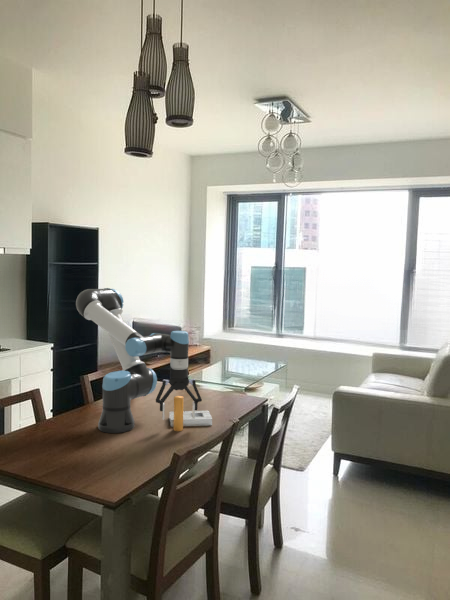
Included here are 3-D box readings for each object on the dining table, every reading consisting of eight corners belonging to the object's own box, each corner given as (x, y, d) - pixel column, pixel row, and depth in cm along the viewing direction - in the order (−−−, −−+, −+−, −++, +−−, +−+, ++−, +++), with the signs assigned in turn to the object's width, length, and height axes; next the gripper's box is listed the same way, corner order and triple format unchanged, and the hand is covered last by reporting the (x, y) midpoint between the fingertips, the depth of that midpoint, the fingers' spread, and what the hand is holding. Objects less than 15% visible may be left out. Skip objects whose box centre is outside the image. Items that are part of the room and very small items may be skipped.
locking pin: (173, 431, 200) (174, 398, 199) (173, 428, 204) (173, 396, 203) (183, 431, 201) (183, 398, 200) (182, 427, 205) (183, 395, 204)
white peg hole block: (170, 426, 206) (170, 419, 206) (169, 417, 218) (169, 411, 218) (212, 425, 209) (212, 418, 209) (208, 416, 221) (208, 410, 221)
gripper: (150, 370, 195) (149, 421, 197) (208, 369, 199) (208, 420, 201) (150, 366, 203) (149, 416, 204) (206, 365, 206) (205, 414, 208)
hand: (178, 418), depth 202 cm, fingers open, 12 cm apart
